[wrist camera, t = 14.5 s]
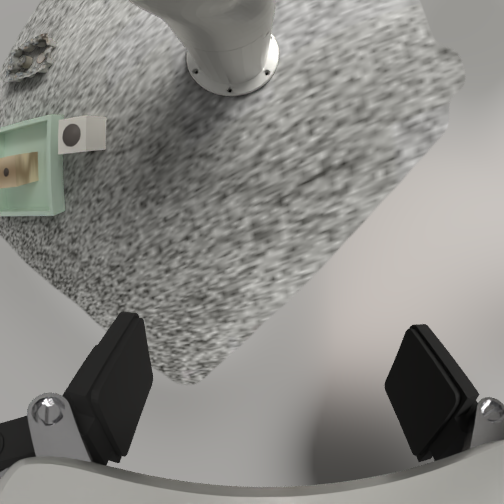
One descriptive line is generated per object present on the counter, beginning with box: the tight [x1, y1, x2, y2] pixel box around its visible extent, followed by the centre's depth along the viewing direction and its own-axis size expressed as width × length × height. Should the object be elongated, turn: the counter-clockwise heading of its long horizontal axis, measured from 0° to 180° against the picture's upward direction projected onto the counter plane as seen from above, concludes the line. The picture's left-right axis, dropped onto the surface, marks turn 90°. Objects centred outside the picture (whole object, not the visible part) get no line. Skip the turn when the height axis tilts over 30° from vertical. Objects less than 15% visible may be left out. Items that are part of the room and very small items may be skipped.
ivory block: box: [58, 115, 106, 155], centre depth 35 cm, size 5×5×6 cm
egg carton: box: [4, 33, 57, 82], centre depth 30 cm, size 11×8×4 cm
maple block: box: [0, 152, 39, 189], centre depth 35 cm, size 5×5×6 cm
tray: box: [0, 114, 65, 216], centre depth 37 cm, size 16×16×4 cm
